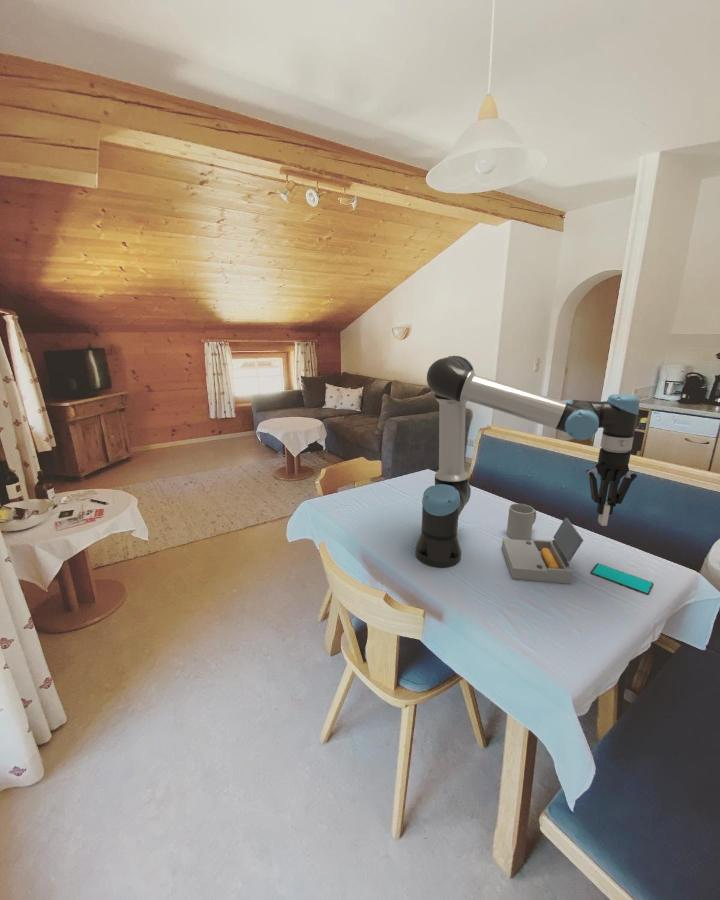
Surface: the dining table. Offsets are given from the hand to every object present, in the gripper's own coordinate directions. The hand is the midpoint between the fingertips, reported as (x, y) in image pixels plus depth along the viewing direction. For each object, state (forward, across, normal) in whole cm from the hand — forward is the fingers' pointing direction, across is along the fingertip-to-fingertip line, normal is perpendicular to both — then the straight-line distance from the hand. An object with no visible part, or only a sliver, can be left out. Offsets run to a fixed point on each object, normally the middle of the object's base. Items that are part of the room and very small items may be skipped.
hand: (602, 523), depth 119 cm
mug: (+16, -17, +20) cm, 31 cm away
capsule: (+14, -13, 0) cm, 19 cm away
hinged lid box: (+16, -18, 0) cm, 24 cm away
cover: (+7, -10, 0) cm, 12 cm away
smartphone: (+17, +6, -4) cm, 18 cm away
